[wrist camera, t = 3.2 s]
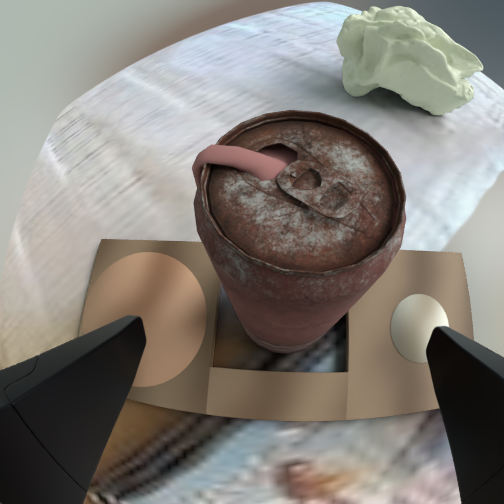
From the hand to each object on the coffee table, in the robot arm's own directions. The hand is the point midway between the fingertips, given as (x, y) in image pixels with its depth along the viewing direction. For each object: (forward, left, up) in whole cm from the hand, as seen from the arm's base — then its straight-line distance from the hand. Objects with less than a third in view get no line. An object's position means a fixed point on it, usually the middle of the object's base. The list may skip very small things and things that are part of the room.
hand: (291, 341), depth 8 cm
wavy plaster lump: (+29, +20, -11) cm, 37 cm away
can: (+2, +3, -11) cm, 12 cm away
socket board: (+1, +2, -11) cm, 11 cm away
